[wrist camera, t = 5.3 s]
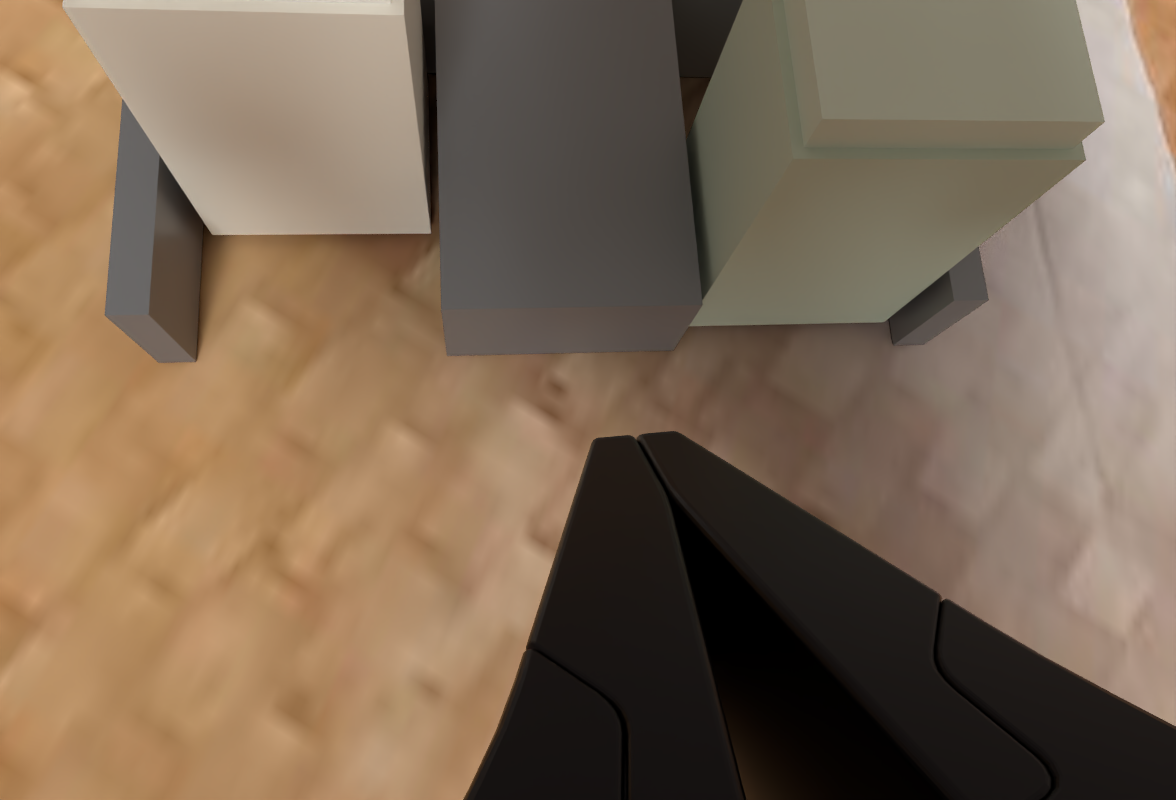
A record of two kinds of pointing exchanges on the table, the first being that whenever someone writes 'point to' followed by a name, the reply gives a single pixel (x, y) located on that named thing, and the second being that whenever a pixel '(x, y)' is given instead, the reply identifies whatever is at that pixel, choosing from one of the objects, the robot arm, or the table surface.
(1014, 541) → the table surface
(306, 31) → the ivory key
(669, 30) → the gray two-slot stand
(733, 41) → the pale green rectangular block
